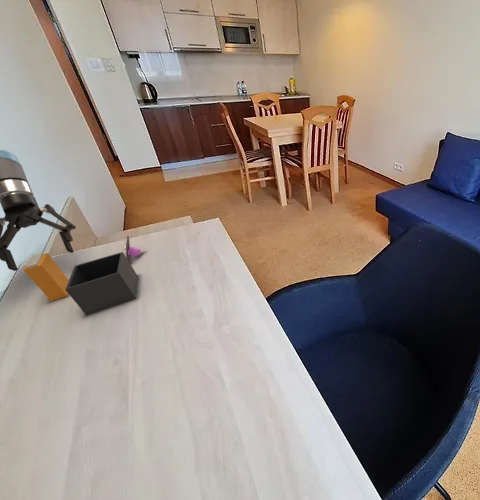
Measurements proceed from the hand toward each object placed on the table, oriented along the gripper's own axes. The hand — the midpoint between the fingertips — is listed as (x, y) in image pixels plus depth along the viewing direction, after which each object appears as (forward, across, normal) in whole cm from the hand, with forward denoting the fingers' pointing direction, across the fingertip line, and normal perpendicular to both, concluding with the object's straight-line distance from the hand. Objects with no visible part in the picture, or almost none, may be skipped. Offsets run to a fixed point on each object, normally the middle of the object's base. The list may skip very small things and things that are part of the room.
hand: (42, 260), depth 90 cm
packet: (+10, 0, -4) cm, 11 cm away
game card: (+5, -21, -9) cm, 23 cm away
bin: (+19, -14, +5) cm, 24 cm away
